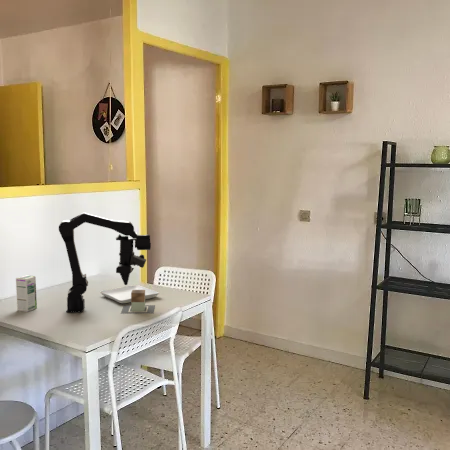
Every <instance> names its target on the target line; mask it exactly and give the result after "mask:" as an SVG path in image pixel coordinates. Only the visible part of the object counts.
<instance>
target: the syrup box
mask: <svg viewBox="0 0 450 450" xmlns="http://www.w3.org/2000/svg"><path fill="white" fill-rule="evenodd" d="M36 281H37V279H36V276H35V275H30V274H27V275H23V276H19V277H16V278H15V289H16V291H15V292H16V308H17V309H16V310H17V311H20V312H25V313H29V312H31V311H33V310H36V309H38V305H37V304H38V303H37V286H36V285H37V284H36V283H37V282H36Z"/></svg>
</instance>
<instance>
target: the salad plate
mask: <svg viewBox="0 0 450 450" xmlns="http://www.w3.org/2000/svg"><path fill="white" fill-rule="evenodd" d="M132 290H145V300H149V299H153V298H155V297H157V296H158V295H159V294H160V292H158V291H156V290H154V289H150V288H148V287H144V286H142V285H139V284H133V285H125V286H120V287H115V288H109V289H105V290H104V289H103V290H100V291H99V293H100V294H101V295H102V296H104V297H106V298H108V299H110V300H113V301H114V302H116V303H119V304H122V305H123V304H125V305H126V304H129V303H131V292H132Z"/></svg>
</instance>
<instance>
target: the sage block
mask: <svg viewBox="0 0 450 450" xmlns="http://www.w3.org/2000/svg"><path fill="white" fill-rule="evenodd" d="M130 303H131V311H144V310H145V305H146V300H145V301H144V302H130Z"/></svg>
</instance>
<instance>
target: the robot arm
mask: <svg viewBox="0 0 450 450" xmlns="http://www.w3.org/2000/svg"><path fill="white" fill-rule="evenodd" d="M85 223H87V224H90V225H94V226H98V227H103V228H106V229H110V230H113V231H115V232H116V233H118V235H117V236H116V237H115V240H116V241H119V253H118V256H119V262H118V266H116V269H115V272H116V274H120V277H121V279H122V282H123V284H124V285H125V286H128V284H129V279H130V274H131V273H132V272H133V270H134V269H135V268H134V267H132V266H137V267H139V268H144V267H145V264H146V261H147V259H146V258H145V255H144V254H142V253H141V254H139V255H135V252H134V248H135V249H136V250H137V251H151V248H152V247H151V246H152V245H151V244H152V243H151V235H150V234H138V233H137V231H135V227H134V225H133V222H131V221H129V220H120V219H119V220H118V219H117V220H116V219H110V218H106V217H102V216H99V215H96V214H90V213H88V212H82V213H79V215H76V216H75V217H73V218H71V219H65V220H64V219H63V220H62V221H61V222H60V224H59V225H58V232H59V235H60V236H61V239H62V240H63V242H64V244H65V249H66V253H67V257H68V260H69V266H70V271H71V275H72V276H71V278H72V281H71V282H72V283H71V284H72V286H71V287H70V288H69V289H68V290H67V297H66V301H67V302H66V305H67V306H66V309H67V310H65V311H66V313H82V312H83V311H84V310H85V308H86V307H85V304H86V303H85V302H86V301H85V298H84V295H83V294H85V293H86V292H87V287H88V286H89V281H88V279H87V273H84V274H83V272H82V269H81V265H80V261H79V256H78V252H77V248H76V243H75V229H76V228H78V227H79V226H81V225H83V224H85Z"/></svg>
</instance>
